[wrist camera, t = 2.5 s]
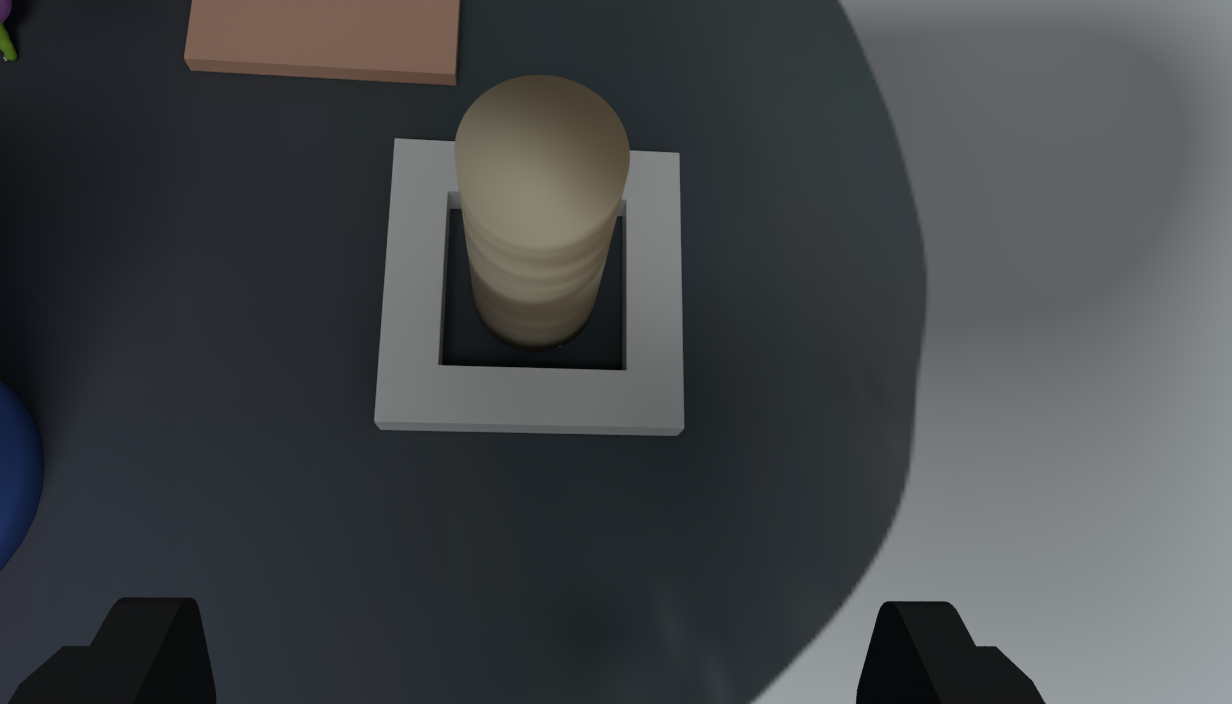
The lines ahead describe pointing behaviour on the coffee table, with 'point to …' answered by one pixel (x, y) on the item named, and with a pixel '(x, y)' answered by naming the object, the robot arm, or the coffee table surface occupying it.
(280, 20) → the terracotta tile
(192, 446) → the coffee table surface
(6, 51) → the purple toy figure
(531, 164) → the birch peg
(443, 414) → the pocket block
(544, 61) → the coffee table surface
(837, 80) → the coffee table surface
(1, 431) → the water bottle
